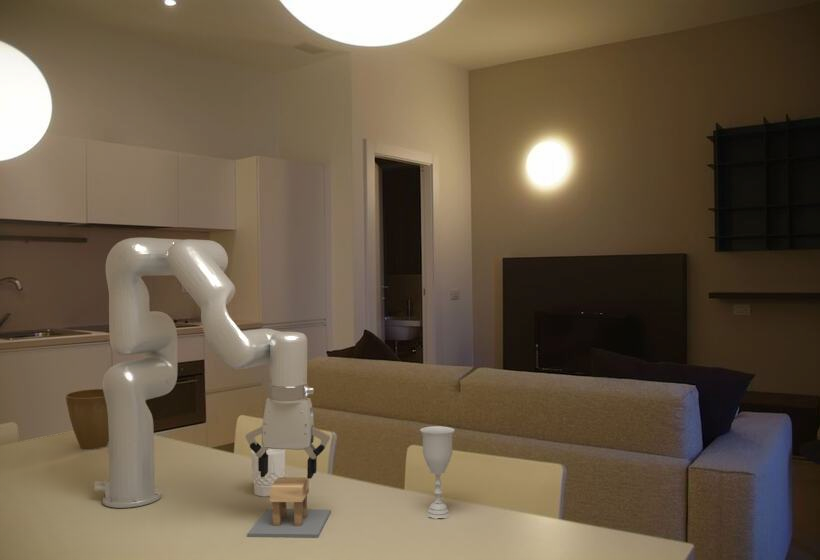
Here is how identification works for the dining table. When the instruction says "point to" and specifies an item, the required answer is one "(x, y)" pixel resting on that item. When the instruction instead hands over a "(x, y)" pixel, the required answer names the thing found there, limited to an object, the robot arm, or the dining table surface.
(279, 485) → the stool
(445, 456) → the chalice
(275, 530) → the mat
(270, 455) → the white cup
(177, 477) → the dining table surface
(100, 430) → the plant pot
